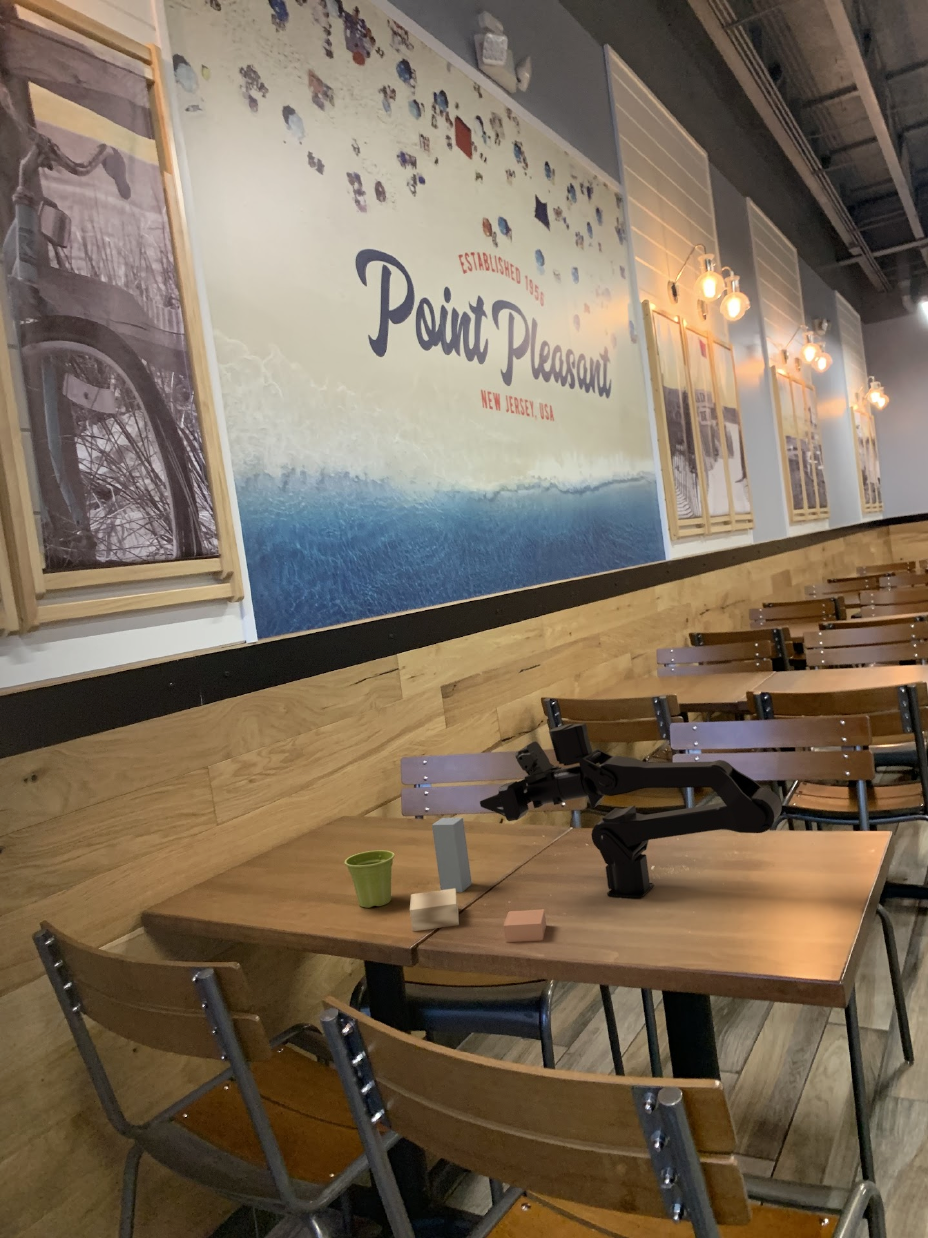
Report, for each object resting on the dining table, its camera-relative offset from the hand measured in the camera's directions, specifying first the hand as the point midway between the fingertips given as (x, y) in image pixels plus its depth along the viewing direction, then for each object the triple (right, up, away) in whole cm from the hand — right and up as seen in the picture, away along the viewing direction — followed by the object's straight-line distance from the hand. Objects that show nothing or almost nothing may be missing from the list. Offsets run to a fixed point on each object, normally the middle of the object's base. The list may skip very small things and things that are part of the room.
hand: (492, 797), depth 175 cm
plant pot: (-22, -20, 0) cm, 30 cm away
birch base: (-10, -19, -13) cm, 25 cm away
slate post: (-7, -18, +2) cm, 19 cm away
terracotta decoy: (+5, -18, -25) cm, 31 cm away
